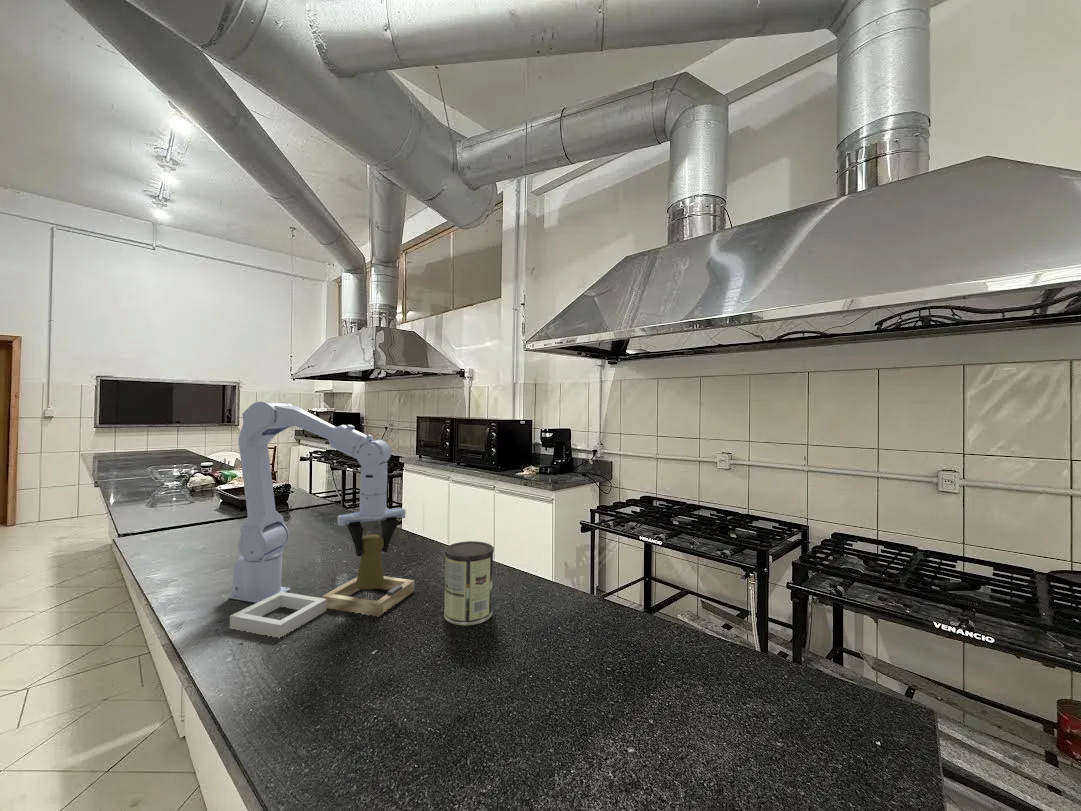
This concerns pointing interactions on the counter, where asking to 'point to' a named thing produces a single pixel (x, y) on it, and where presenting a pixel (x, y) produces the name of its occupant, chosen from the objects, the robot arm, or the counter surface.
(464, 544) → the coffee can
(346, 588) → the wooden square frame
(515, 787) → the counter surface
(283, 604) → the white picture frame
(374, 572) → the cork
